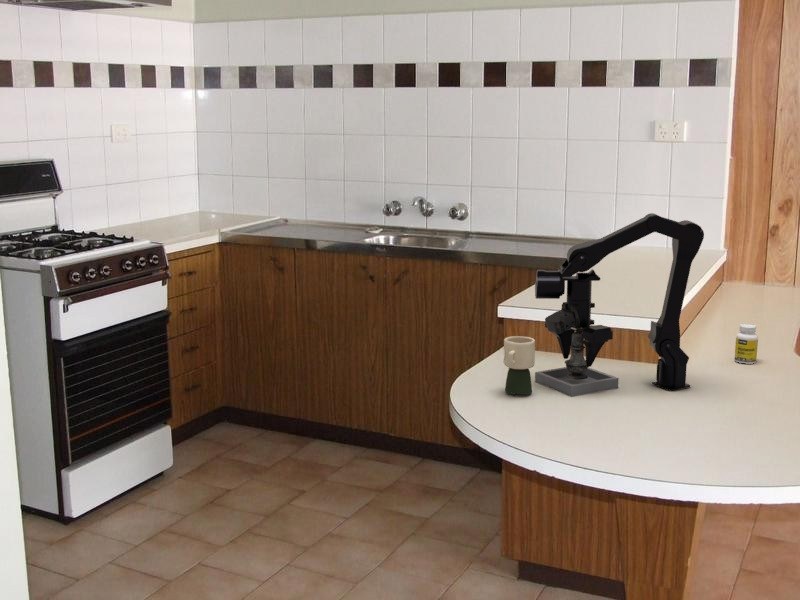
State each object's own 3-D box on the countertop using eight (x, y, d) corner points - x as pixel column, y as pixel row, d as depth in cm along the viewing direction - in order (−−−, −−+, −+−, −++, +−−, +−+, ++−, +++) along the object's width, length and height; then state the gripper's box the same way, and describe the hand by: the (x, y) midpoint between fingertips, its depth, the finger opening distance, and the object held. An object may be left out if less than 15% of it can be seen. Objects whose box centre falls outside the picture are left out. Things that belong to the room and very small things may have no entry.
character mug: (513, 385, 224) (514, 333, 221) (541, 389, 220) (542, 336, 218) (494, 397, 215) (495, 342, 212) (523, 402, 211) (524, 346, 209)
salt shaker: (575, 381, 220) (576, 331, 218) (559, 375, 225) (560, 327, 222) (594, 377, 223) (595, 328, 220) (577, 372, 228) (579, 324, 225)
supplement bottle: (733, 363, 242) (736, 326, 241) (734, 358, 247) (737, 322, 245) (756, 365, 240) (758, 328, 239) (756, 360, 245) (759, 324, 243)
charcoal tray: (618, 388, 221) (618, 378, 221) (571, 396, 215) (571, 386, 214) (580, 374, 233) (580, 364, 233) (534, 381, 227) (535, 372, 226)
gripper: (527, 295, 224) (526, 358, 227) (577, 309, 208) (575, 376, 211) (564, 291, 230) (563, 352, 233) (615, 304, 213) (613, 369, 216)
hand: (577, 362), depth 223 cm, fingers closed on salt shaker, 8 cm apart
